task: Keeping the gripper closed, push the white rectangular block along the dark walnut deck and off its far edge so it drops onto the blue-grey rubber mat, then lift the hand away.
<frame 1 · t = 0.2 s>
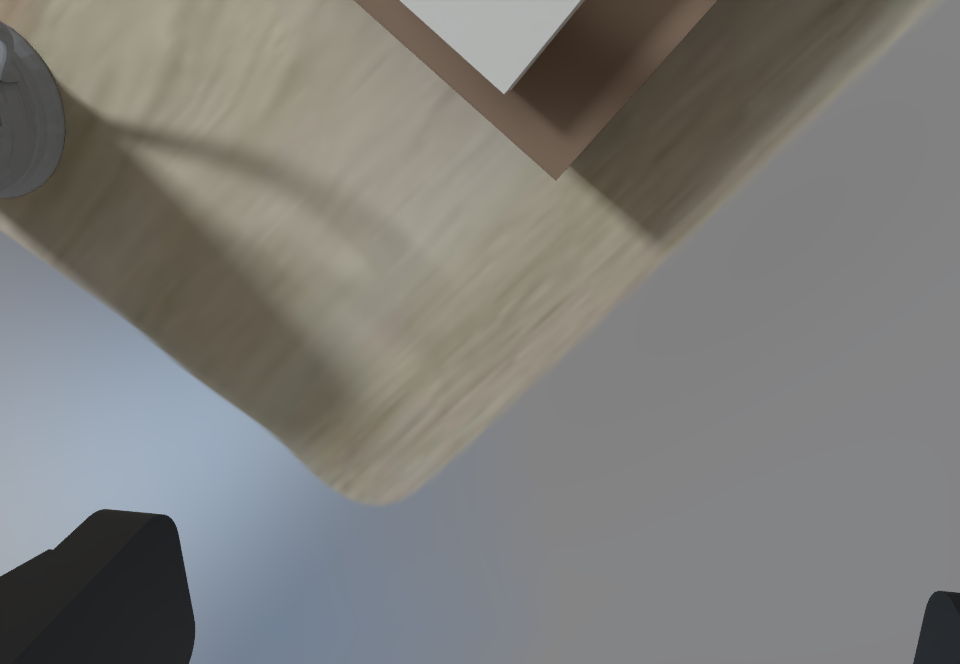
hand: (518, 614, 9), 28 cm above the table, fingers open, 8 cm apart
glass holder: (25, 82, 38), on the table
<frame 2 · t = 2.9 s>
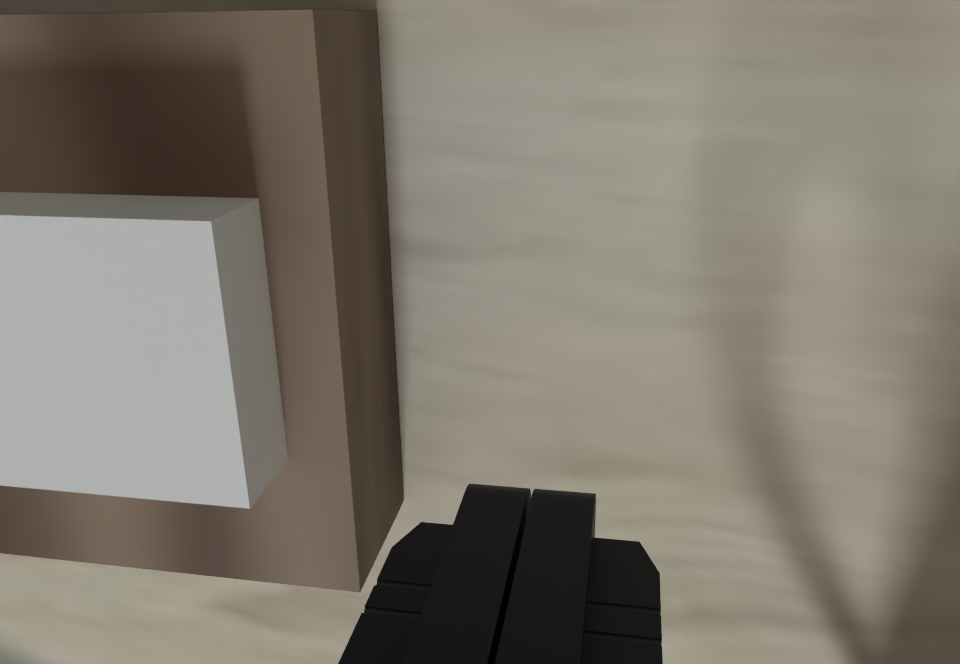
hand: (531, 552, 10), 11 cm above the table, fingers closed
deck: (42, 268, 23), on the table
white rectangular block: (84, 326, 18), point 4 cm above the table, touching deck
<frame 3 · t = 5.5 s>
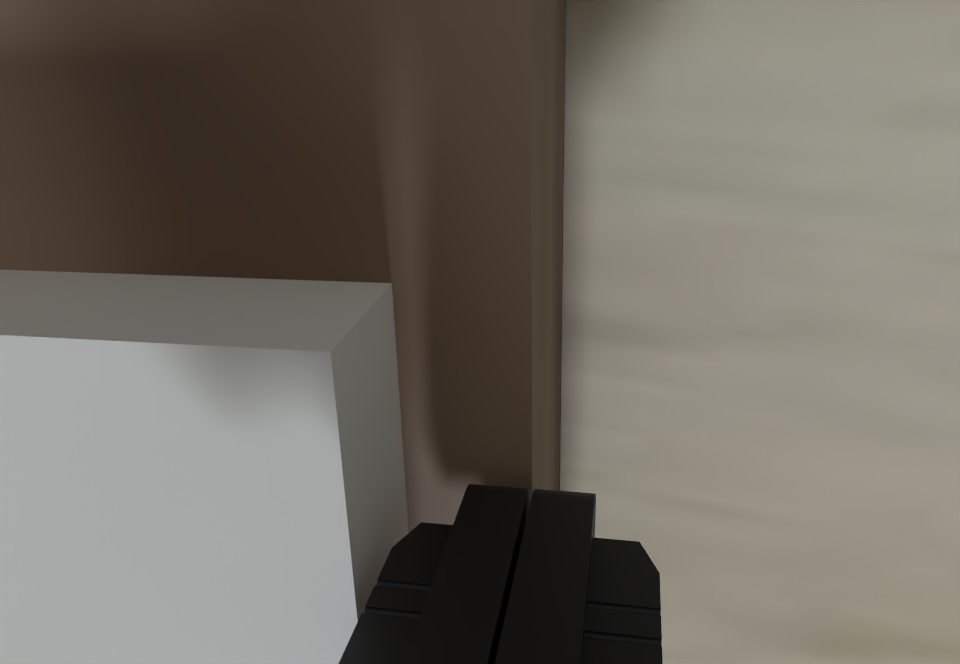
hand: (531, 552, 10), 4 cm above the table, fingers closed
deck: (35, 352, 15), on the table
white rectangular block: (89, 480, 11), point 4 cm above the table, touching deck, gripper
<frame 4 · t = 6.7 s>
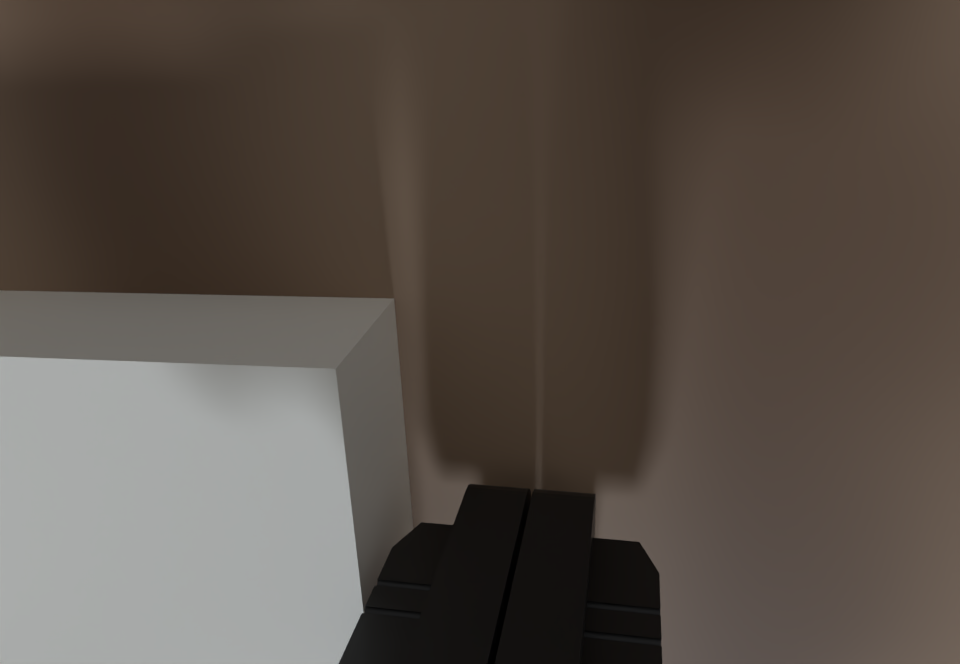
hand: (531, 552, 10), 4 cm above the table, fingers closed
deck: (345, 370, 14), on the table
white rectangular block: (97, 496, 11), point 4 cm above the table, touching deck, gripper
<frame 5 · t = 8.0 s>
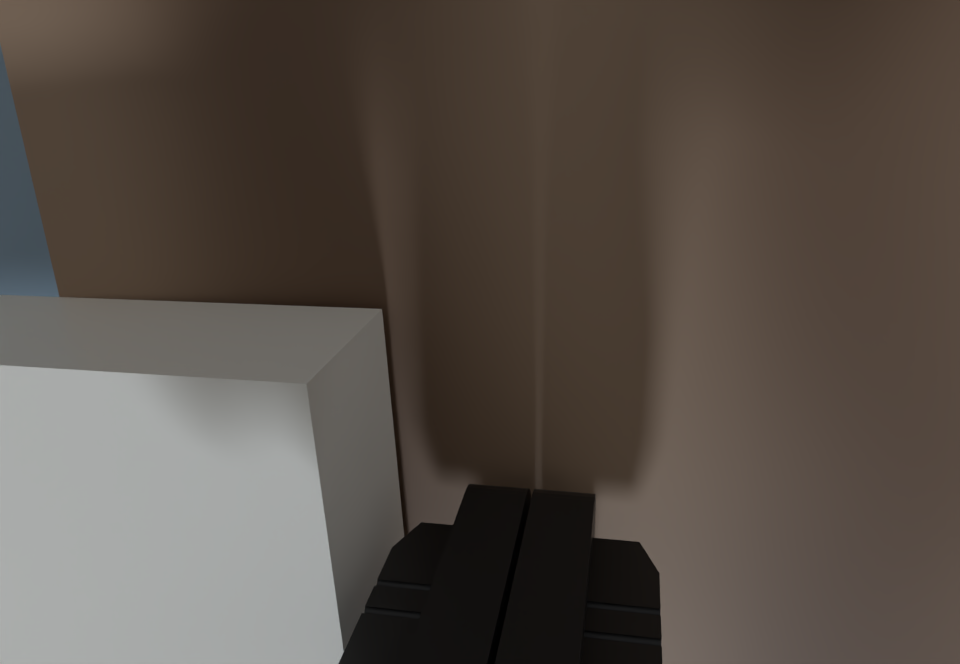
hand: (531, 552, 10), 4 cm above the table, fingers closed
deck: (816, 392, 13), on the table
white rectangular block: (96, 500, 11), point 4 cm above the table, touching deck
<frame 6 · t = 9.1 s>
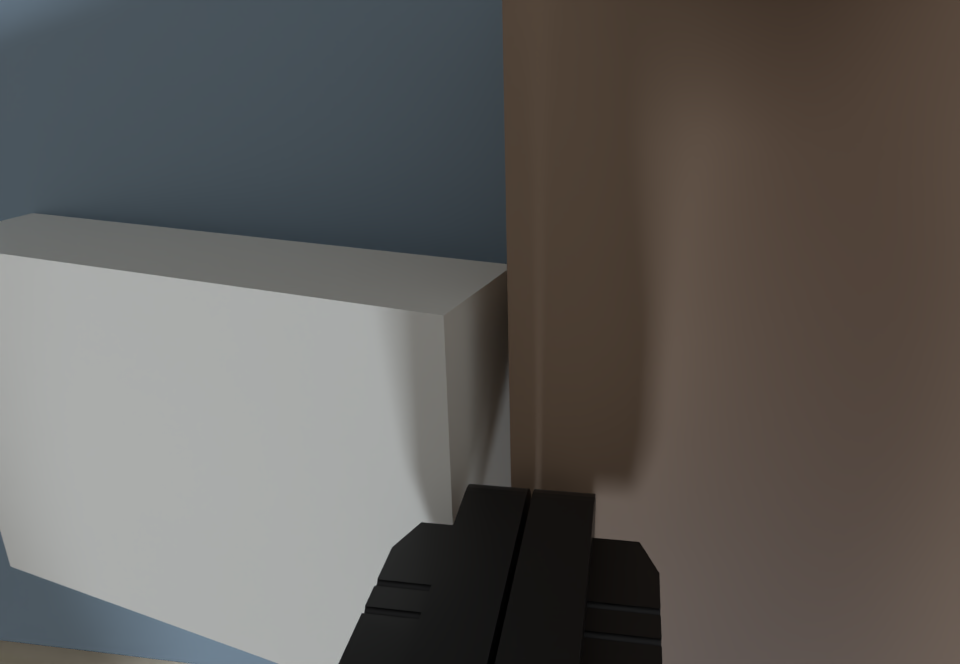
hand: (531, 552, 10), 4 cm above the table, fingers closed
mat: (120, 357, 15), on the table
white rectangular block: (262, 412, 13), point 1 cm above the table, tilted 14°
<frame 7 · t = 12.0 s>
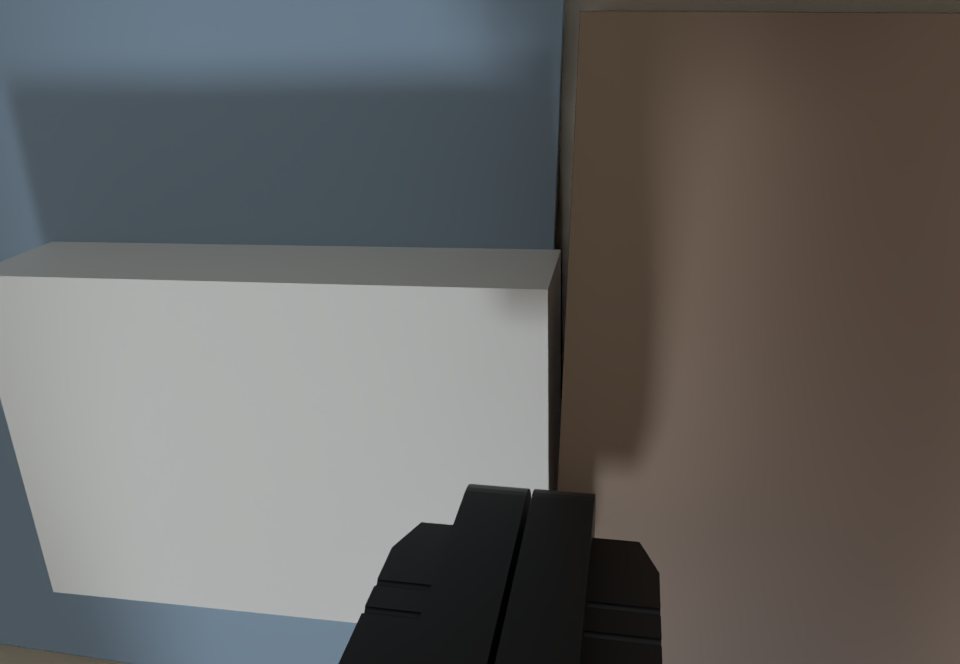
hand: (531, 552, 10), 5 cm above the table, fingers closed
mat: (153, 374, 15), on the table
white rectangular block: (310, 406, 15), resting on mat
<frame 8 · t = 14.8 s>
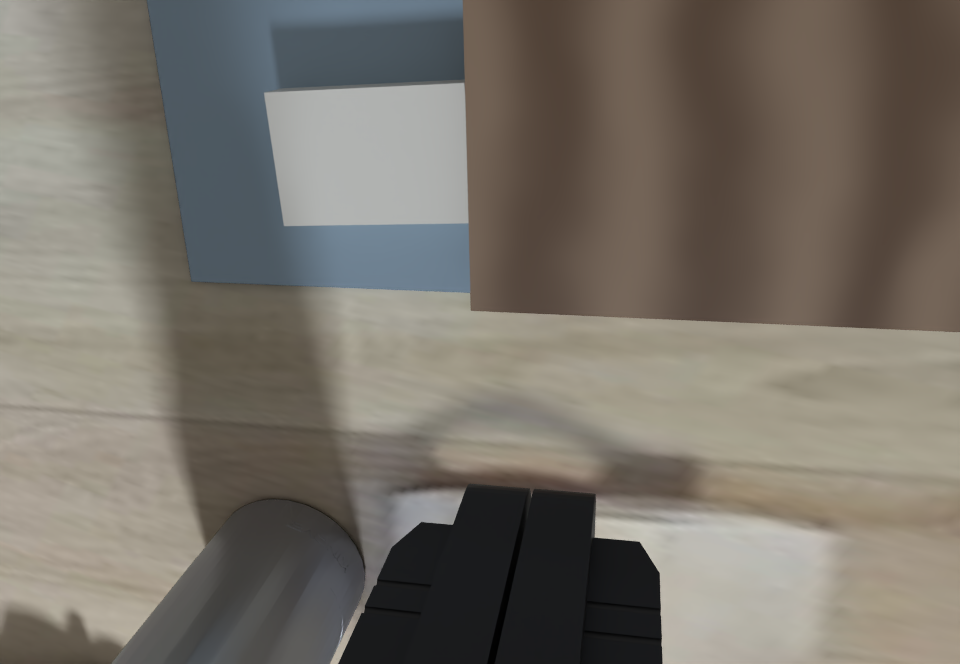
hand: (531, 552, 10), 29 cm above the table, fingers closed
mat: (318, 144, 39), on the table
deck: (710, 148, 35), on the table
white rectangular block: (382, 151, 38), resting on mat
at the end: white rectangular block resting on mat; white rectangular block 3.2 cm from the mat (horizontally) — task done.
